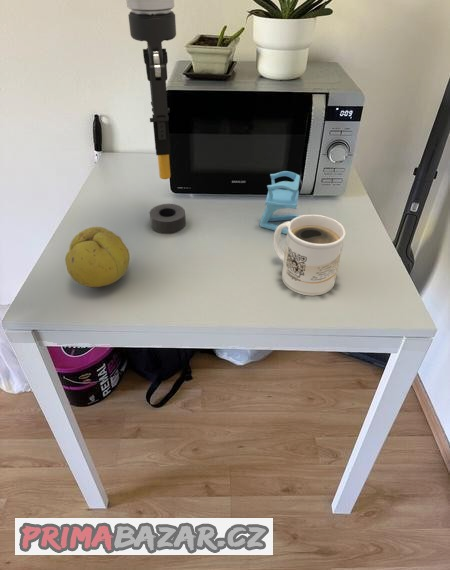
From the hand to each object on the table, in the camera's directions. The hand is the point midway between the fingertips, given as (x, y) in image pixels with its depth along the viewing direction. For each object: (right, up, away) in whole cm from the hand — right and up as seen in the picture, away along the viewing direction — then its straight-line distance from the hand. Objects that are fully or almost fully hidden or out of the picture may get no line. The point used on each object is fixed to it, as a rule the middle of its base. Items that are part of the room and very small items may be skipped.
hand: (162, 150), depth 86 cm
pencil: (0, -4, +3) cm, 5 cm away
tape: (0, -13, +11) cm, 17 cm away
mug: (+27, -24, -3) cm, 37 cm away
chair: (+24, -13, +11) cm, 30 cm away
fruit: (-11, -25, -4) cm, 28 cm away
